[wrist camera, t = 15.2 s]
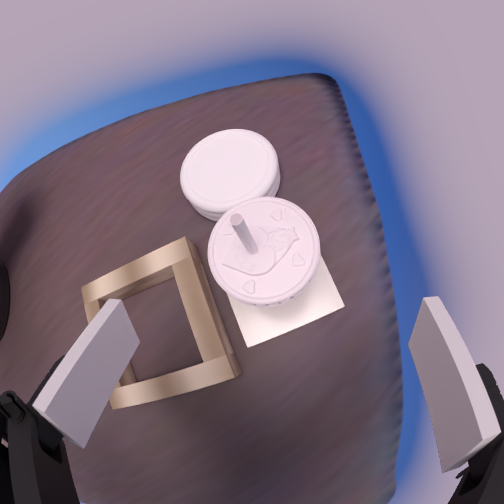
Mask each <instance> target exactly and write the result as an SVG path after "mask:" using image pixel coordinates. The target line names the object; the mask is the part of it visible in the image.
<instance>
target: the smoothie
mask: <svg viewBox="0 0 504 504" xmlns="http://www.w3.org/2000/svg"><path fill="white" fill-rule="evenodd" d="M319 260H320V242H319V237H318V233H317V230H316V228H315V225H314V224H313V222H312V220H311V219H310V218H309V216H308V215H307V214H306V213H305V212H304V211H303V210H302V209H301V208H299V207H298V206H297V205H295V204H293V203H291V202H289V201H287V200H284V199H281V198H276V197H256V198H251V199H248V200H245V201H242V202H240V203H238V204H236V205H235V206H233V207H232V208H230V209H229V210H228V211H227V212H226V213H225V214H224V215H223V216H222V217H221V218H220V219H219V220H218V222H217V223H216V225H215V227H214V229H213V231H212V233H211V236H210V239H209V244H208V261H209V266H210V269H211V272H212V274H213V276H214V278H215V280H216V281H217V283H218V284H219V285H220V286H221V287H222V288H223V289H224V290H225V291H226V292H227V293H228V294H229V295H230V296H231V297H233V298H235V299H236V300H238V301H239V302H241V303H244V304H247V305H251V306H255V307H273V306H277V305H280V304H284V303H287V302H288V301H290V300H292V299H294V298H295V297H297V296H299V295H300V294H301V293H302V292H303V291H304V290H305V289H306V288H307V287H308V286H309V285H310V283H311V281H312V279H313V278H314V276H315V274H316V272H317V269H318V265H319Z"/></svg>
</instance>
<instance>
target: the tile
mask: <svg viewBox="0 0 504 504" xmlns="http://www.w3.org/2000/svg"><path fill="white" fill-rule="evenodd" d="M227 295H228V298H229V300H230V303H231V306H232V308H233V311H234V314H235V316H236V319H237V322H238V324H239V327H240V329H241V332H242V334H243V337H244V340H245V342H246V345H247V347H248V348H249V347H252V346H254V345H257V344H260V343H262V342H265V341H267V340H270V339H272V338H275V337H277V336H280V335H282V334H285V333H287V332H289V331H292V330H294V329H296V328H299V327H301V326H303V325H306V324H308V323H310V322H313V321H315V320H317V319H319V318H322V317H324V316H326V315H328V314H330V313H332V312H335V311H337V310H339V309H341V308H343V307H345V306H344V304H343V302H342V299H341V297H340V295H339V293H338V290H337V288H336V286H335V284H334V282H333V280H332V277H331V275H330V273H329V271H328V269H327V267H326V265H325V263H324V260H323V258H322V256H321V254H320V260H319V265H318V269H317V272H316V274H315V276H314V278H313V279H312V281H311V283H310V285H309V286H308V287H307V288H306V289H305V290H304V291H303V292H302V293H301V294H300V295H299V296H297V297H295V298H294V299H292V300H290V301H288V302H287V303H284V304H280V305H277V306H273V307H255V306H251V305H247V304H244V303H241V302H239V301H238V300H236V299H235V298H233V297H231V296H230V295H229V294H228V293H227Z"/></svg>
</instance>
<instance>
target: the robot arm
mask: <svg viewBox="0 0 504 504" xmlns="http://www.w3.org/2000/svg"><path fill="white" fill-rule="evenodd" d="M9 296H10V293H9V280H8V274H7V271H6V268H5V266H4V265H3V263H2V262H0V339H1V337H2V335H3V333H4V330H5V327H6V323H7V318H8V311H9ZM139 343H140V341H139V339H138V337H137V334H136V332H135V330H134V328H133V326H132V323H131V321H130V319H129V316H128V314H127V312H126V309H125V307H124V304H123V302H122V300H120V299H108V301H107V302H106V303H105V304H104V306H103V307H102V308H101V309H100V311H99V312H98V313H97V314H96V316H95V317H94V318H93V320H92V321H91V322H90V323H89V325H88V326H87V327H86V329H85V330H84V331H83V333H82V334H81V335H80V337H79V338H78V339H77V341H76V342H75V343H74V345H73V346H72V347H71V349H70V350H69V352H68V353H67V354H66V356H63V357H61V358H60V359H59V360H58V361H56V362H55V364H54V365H53V366H52V368H51V369H50V372H49V373H48V374H47V375H46V377H45V379H43V381H42V382H41V384H40V385H39V387H38V388H37V390H36V391H35V393H34V394H33V396H32V398H31V399H30V401H29V402H28V403H27V404H25V403H24V402H23V401H22V400H21V399H20V398H19V397H18V396H17V395H16V393H15V392H13V391H6V392H4V393H2V394H1V395H0V504H80V502H79V499H78V496H77V493H76V489H75V486H74V482H73V478H72V474H71V470H70V466H69V462H68V457H67V453H66V448H65V444H64V441H63V440H62V438H63V436H64V437H65V438H66V439H67V440H69V441H70V442H71V443H73V444H75V445H77V446H79V447H81V448H83V449H84V448H85V446H86V444H87V442H88V440H89V438H90V436H91V434H92V432H93V430H94V428H95V425H96V423H97V422H98V420H99V418H100V416H101V414H102V412H103V410H104V408H105V406H106V404H107V402H108V400H109V398H110V396H111V394H112V392H113V391H114V389H115V387H116V385H117V383H118V381H119V379H120V378H121V376H122V374H123V372H124V370H125V368H126V367H127V365H128V363H129V361H130V359H131V358H132V356H133V354H134V352H135V350H136V349H137V347H138V345H139ZM408 346H409V349H410V351H411V354H412V357H413V360H414V363H415V366H416V369H417V373H418V376H419V379H420V382H421V385H422V388H423V392H424V395H425V399H426V402H427V406H428V410H429V414H430V418H431V421H432V425H433V430H434V434H435V438H436V443H437V448H438V453H439V458H440V463H441V468H442V473H444V472H447V471H450V470H453V469H456V468H459V467H460V466H462V465H463V464H464V463H466V462H467V461H468V464H469V467H467V468H466V469H464V470H463V471H461V472H460V473H459V474H458V475H457V476H456V478H457V479H458V478H459V477H461V476H462V475H463V477H462V479H461V481H460V483H459V485H458V486H457V488H456V490H455V492H454V494H453V496H452V497H451V499H450V501H449V502H448V504H504V400H503V397H502V395H501V394H500V390H499V388H498V386H497V385H496V381H495V379H494V377H493V374H492V372H491V371H490V370H489V369H488V368H487V367H486V366H485V365H484V364H483V363H482V364H478V365H475V364H474V362H473V360H472V357H471V355H470V353H469V351H468V349H467V347H466V345H465V343H464V341H463V339H462V338H461V336H460V334H459V332H458V330H457V328H456V327H455V324H454V323H453V321H452V319H451V317H450V315H449V314H448V312H447V310H446V309H445V307H444V305H443V303H442V302H441V300H440V299H439V297H438V296H436V297H425V298H423V301H422V304H421V307H420V311H419V314H418V317H417V320H416V323H415V326H414V329H413V332H412V335H411V338H410V341H409V343H408ZM2 438H3V439H4V440H5V441H6V442H8V448H7V447H5V446H4V445H3V444H2V443H1V440H2Z"/></svg>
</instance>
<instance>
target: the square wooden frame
mask: <svg viewBox="0 0 504 504" xmlns="http://www.w3.org/2000/svg"><path fill="white" fill-rule="evenodd" d="M173 277H175V278H176V282H177V285H178V288H179V291H180V295H181V298H182V301H183V304H184V307H185V310H186V313H187V316H188V319H189V322H190V325H191V328H192V331H193V334H194V337H195V340H196V342H197V345H198V348H199V351H200V353H201V356H202V359H203V362H204V363H201V364H198V365H195V366H192V367H189V368H186V369H183V370H179V371H176V372H173V373H170V374H166V375H163V376H159V377H156V378H152V379H149V380H145V381H142V382H138V383H137V382H136V379H135V376H134V373H133V370H132V367H131V363H130V361H129V363H128V365H127V367H126V368H125V370H124V372H123V374H122V376H121V378H120V379H119V381H118V383H117V385H116V387H115V389H114V391H113V392H112V394H111V396H110V398H109V400H110V403H111V406H112V409H119V408H124V407H129V406H134V405H138V404H143V403H147V402H152V401H156V400H160V399H164V398H168V397H172V396H176V395H179V394H183V393H187V392H190V391H194V390H197V389H201V388H204V387H207V386H211V385H214V384H217V383H220V382H223V381H226V380H229V379H232V378H235V377H237V376H239V375H240V374H242V371H241V369H240V366H239V364H238V361H237V358H236V356H235V353H234V351H233V348H232V346H231V343H230V340H229V338H228V335H227V332H226V330H225V327H224V324H223V322H222V319H221V316H220V314H219V311H218V308H217V305H216V303H215V300H214V297H213V294H212V291H211V288H210V286H209V283H208V280H207V277H206V274H205V271H204V268H203V265H202V262H201V259H200V256H199V253H198V250H197V247H196V246H195V245H194V244H193V243H192V242H191V241H189V240H188V239H187V238H186V237H183V238H181V239H179V240H176V241H174V242H172V243H170V244H168V245H166V246H164V247H161V248H159V249H157V250H155V251H153V252H151V253H149V254H147V255H145V256H143V257H141V258H139V259H136V260H134V261H132V262H130V263H128V264H126V265H124V266H122V267H120V268H118V269H116V270H114V271H112V272H110V273H108V274H106V275H104V276H102V277H100V278H98V279H96V280H95V281H93V282H91V283H89V284H87V285H85V286H83V287H81V288H82V294H83V300H84V306H85V311H86V316H87V321H88V325H89V323H90V322H91V321H92V320H93V318H94V317H95V316H96V314H97V313H98V312H99V311H100V309H101V308H102V307H103V306H104V304H105V303H106V302H107V301H108V299H120V300H123V299H125V298H127V297H129V296H132V295H134V294H136V293H138V292H141V291H143V290H145V289H148V288H150V287H152V286H154V285H157V284H159V283H161V282H163V281H166V280H168V279H170V278H173Z"/></svg>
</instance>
